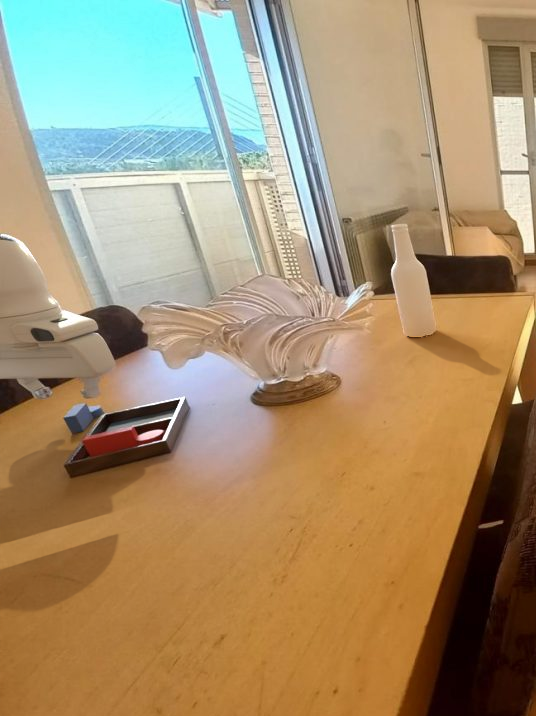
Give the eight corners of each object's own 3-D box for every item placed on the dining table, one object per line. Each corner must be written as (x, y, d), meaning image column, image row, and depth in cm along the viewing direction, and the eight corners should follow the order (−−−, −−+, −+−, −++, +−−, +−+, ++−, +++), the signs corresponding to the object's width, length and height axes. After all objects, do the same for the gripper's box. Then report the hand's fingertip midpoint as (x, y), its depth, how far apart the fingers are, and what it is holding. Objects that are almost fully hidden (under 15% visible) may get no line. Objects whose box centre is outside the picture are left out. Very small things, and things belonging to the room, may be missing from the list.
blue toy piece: (91, 429, 89) (82, 413, 87) (64, 435, 87) (55, 419, 86) (106, 409, 96) (98, 394, 95) (81, 415, 94) (73, 399, 93)
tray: (70, 477, 75) (63, 465, 74) (107, 425, 90) (101, 414, 89) (171, 452, 81) (165, 440, 80) (189, 407, 96) (185, 396, 95)
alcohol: (430, 326, 140) (411, 221, 129) (441, 333, 134) (421, 224, 123) (400, 333, 135) (376, 225, 124) (409, 340, 129) (386, 227, 117)
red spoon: (89, 461, 78) (79, 443, 76) (96, 451, 81) (86, 434, 79) (164, 443, 82) (156, 426, 81) (168, 434, 85) (160, 417, 84)
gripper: (-50, 334, 80) (-6, 406, 85) (65, 332, 79) (103, 404, 85) (-4, 322, 86) (35, 390, 91) (104, 320, 85) (137, 389, 90)
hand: (69, 397), depth 88 cm, fingers open, 8 cm apart
